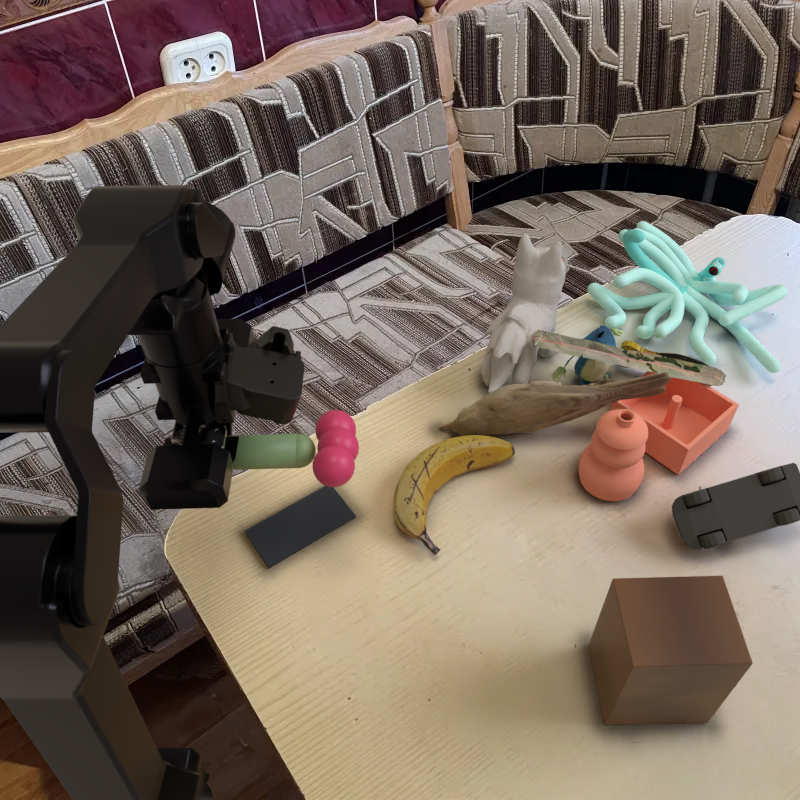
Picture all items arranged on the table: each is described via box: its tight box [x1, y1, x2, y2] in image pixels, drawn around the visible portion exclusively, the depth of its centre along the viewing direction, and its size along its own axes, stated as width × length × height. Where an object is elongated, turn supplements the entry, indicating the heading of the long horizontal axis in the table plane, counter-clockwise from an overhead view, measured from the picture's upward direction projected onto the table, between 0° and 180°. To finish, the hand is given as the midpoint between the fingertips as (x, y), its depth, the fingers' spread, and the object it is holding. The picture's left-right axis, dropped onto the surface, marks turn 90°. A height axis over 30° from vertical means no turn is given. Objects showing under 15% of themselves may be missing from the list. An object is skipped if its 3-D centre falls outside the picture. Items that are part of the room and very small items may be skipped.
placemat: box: [244, 485, 357, 569], centre depth 76 cm, size 10×5×1 cm, turn 125°
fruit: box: [392, 435, 516, 556], centre depth 77 cm, size 15×9×3 cm, turn 135°
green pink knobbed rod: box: [226, 409, 360, 488], centre depth 66 cm, size 15×8×4 cm, turn 91°
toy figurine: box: [551, 324, 624, 386], centre depth 86 cm, size 12×4×8 cm, turn 131°
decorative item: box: [618, 340, 714, 387], centre depth 86 cm, size 11×1×5 cm, turn 68°
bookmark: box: [533, 330, 727, 387], centre depth 82 cm, size 3×21×1 cm, turn 81°
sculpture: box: [438, 372, 671, 436], centre depth 80 cm, size 6×25×5 cm
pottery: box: [577, 371, 740, 502], centre depth 78 cm, size 18×10×10 cm, turn 131°
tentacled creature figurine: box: [587, 220, 789, 374], centre depth 93 cm, size 25×14×18 cm
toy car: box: [671, 462, 800, 551], centre depth 73 cm, size 6×13×5 cm
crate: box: [588, 575, 754, 726], centre depth 60 cm, size 8×7×12 cm
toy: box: [480, 233, 571, 395], centre depth 85 cm, size 6×19×15 cm, turn 150°
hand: (222, 469), depth 68 cm, fingers closed on green pink knobbed rod, 3 cm apart
